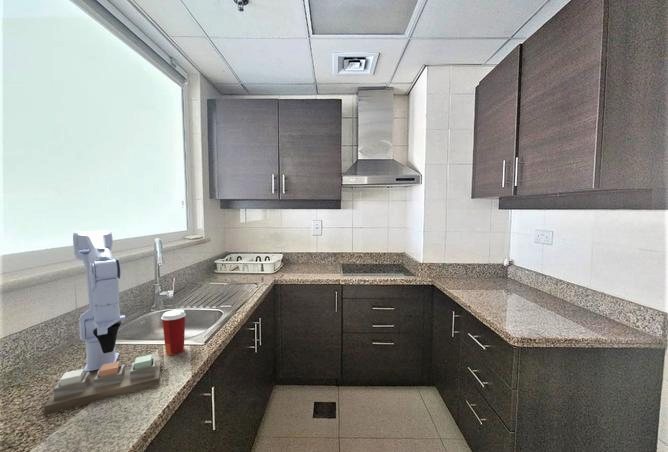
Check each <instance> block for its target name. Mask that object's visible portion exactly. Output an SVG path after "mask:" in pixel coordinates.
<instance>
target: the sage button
mask: <svg viewBox="0 0 668 452" xmlns="http://www.w3.org/2000/svg"><path fill="white" fill-rule="evenodd" d="M152 358H153V354H147V355H142V356H138V357H135V359H134V362H135V364H134V365H135V370H136V369H141V368H145V367H149V366H152Z"/></svg>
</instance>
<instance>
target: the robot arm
mask: <svg viewBox="0 0 668 452" xmlns="http://www.w3.org/2000/svg"><path fill="white" fill-rule="evenodd" d="M72 241H73V242H72V244H73V251H74V256H75V259H78V260H81V261H83V264H84V266H85V274H86V276H85V277H86V286H87V296H88V305H89V308H88V309H87V310H85V311H84V312H83V313H82V314H81V315H80V317H79V318H78V331H79V332H78V333H79V339H80V340H81V341H82V342H84V341H85V353H86V357H85V359H86V364H85V366H84V368H83V369H84V373H85V372H93V371H97V370H99V369H100V368H101V366H102V365H103V364H108V363H113V362H118V359H119V355H120V353H119V352H116V342H117V335H118V332H119V331H120V326H121V325H122V321H123V320H125V319H126V315H125V314H121V308H120V287H119V286H120V285H119V284H120V283H119V280H120V279H121V275H122V274H121V273H122V267H121V262H120V260H119V258H115V257H114V254H113V252H112V247H113V243H114V242H113V234H112V232H111V230H109V229H108V230H93V231H74V232H73V233H72Z"/></svg>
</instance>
